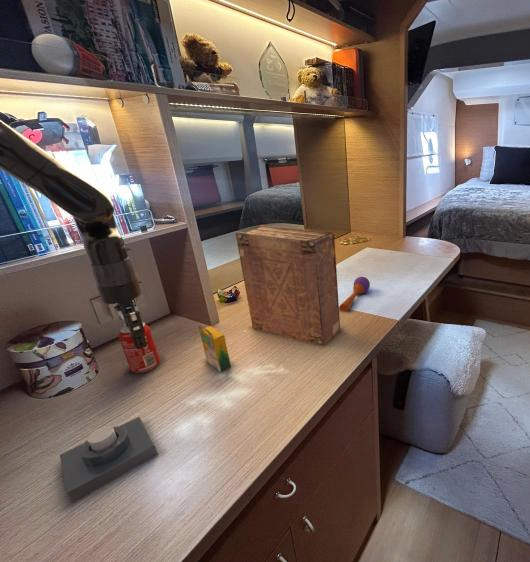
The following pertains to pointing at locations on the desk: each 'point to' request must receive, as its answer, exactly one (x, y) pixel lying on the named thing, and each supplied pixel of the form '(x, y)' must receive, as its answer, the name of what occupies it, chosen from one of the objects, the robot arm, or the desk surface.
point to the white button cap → (102, 438)
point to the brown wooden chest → (291, 282)
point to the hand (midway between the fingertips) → (137, 341)
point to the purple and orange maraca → (356, 292)
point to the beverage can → (139, 350)
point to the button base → (106, 459)
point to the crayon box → (215, 348)
